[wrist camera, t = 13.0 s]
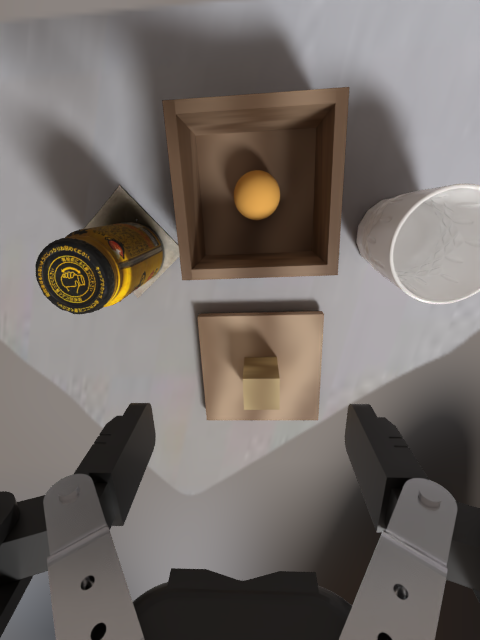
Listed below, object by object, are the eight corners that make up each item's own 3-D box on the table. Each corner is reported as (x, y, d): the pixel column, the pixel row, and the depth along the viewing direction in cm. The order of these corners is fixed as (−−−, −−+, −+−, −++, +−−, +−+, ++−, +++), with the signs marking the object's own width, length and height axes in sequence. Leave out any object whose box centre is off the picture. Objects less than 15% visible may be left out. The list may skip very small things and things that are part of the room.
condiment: (138, 297, 34) (80, 344, 23) (76, 238, 32) (-21, 257, 21) (184, 251, 32) (145, 277, 21) (120, 185, 30) (39, 175, 19)
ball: (236, 220, 30) (233, 222, 26) (234, 173, 28) (230, 169, 25) (278, 217, 30) (281, 220, 26) (278, 171, 28) (281, 166, 24)
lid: (209, 410, 39) (200, 447, 33) (200, 311, 35) (188, 333, 29) (315, 410, 38) (326, 448, 32) (320, 308, 34) (334, 331, 28)
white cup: (338, 213, 30) (375, 218, 21) (422, 174, 28) (503, 160, 19) (364, 286, 32) (407, 321, 23) (443, 253, 31) (524, 276, 21)
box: (199, 262, 32) (182, 280, 25) (187, 127, 28) (162, 100, 21) (318, 257, 31) (337, 275, 24) (324, 118, 27) (349, 86, 20)
